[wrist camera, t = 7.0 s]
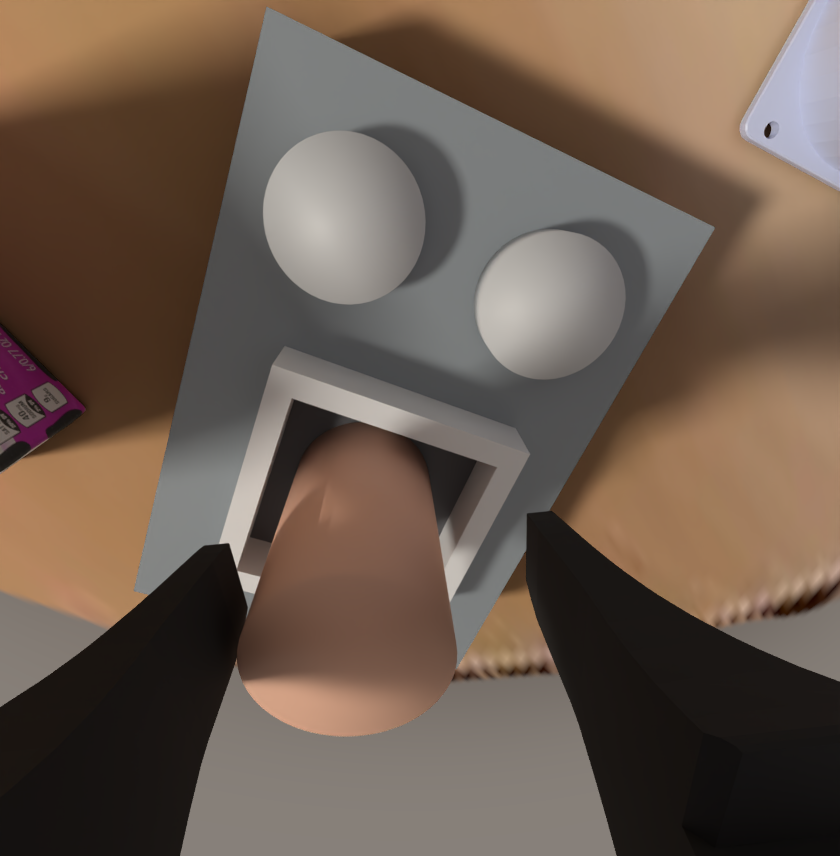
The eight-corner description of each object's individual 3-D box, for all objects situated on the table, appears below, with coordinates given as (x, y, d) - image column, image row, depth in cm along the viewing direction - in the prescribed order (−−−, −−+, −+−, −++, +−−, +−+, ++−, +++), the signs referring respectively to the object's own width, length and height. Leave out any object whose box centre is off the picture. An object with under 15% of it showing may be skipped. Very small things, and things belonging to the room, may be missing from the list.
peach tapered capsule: (416, 410, 18) (438, 554, 10) (446, 564, 20) (481, 766, 13) (280, 436, 18) (204, 598, 10) (328, 586, 20) (296, 800, 13)
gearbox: (653, 221, 19) (758, 231, 14) (446, 604, 27) (462, 709, 21) (293, 48, 16) (247, -25, 11) (172, 530, 24) (108, 630, 18)
